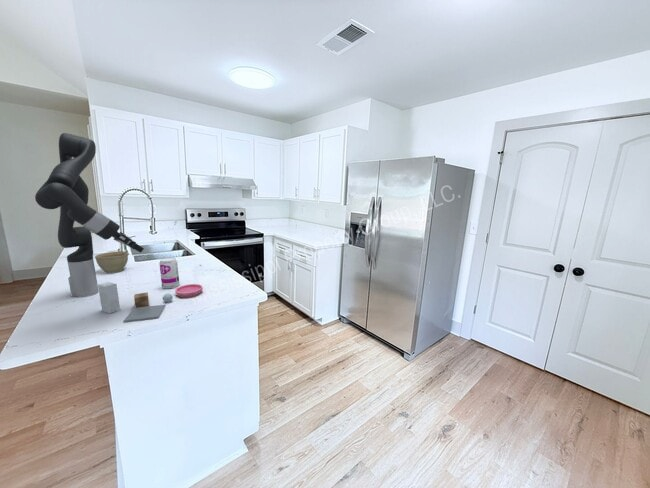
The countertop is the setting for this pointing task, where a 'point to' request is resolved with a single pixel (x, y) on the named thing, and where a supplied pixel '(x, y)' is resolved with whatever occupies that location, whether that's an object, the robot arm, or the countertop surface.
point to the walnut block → (141, 300)
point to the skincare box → (109, 297)
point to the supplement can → (169, 272)
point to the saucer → (189, 290)
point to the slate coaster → (145, 313)
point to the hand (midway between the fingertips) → (139, 249)
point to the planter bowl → (112, 261)
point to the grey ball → (167, 297)
